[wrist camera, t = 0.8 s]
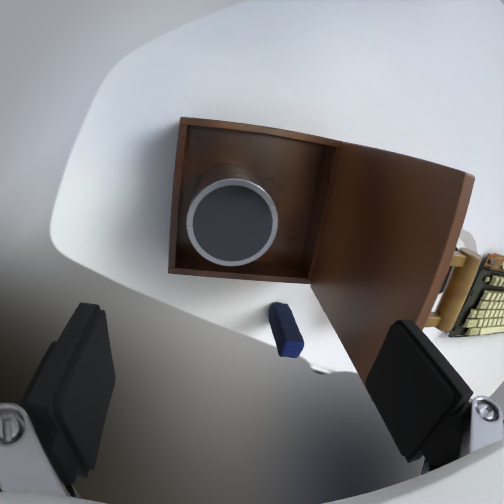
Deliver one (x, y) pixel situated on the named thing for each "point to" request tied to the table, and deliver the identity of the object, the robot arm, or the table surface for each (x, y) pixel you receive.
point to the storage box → (272, 180)
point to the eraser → (285, 331)
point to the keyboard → (484, 302)
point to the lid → (392, 248)
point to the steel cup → (231, 216)
